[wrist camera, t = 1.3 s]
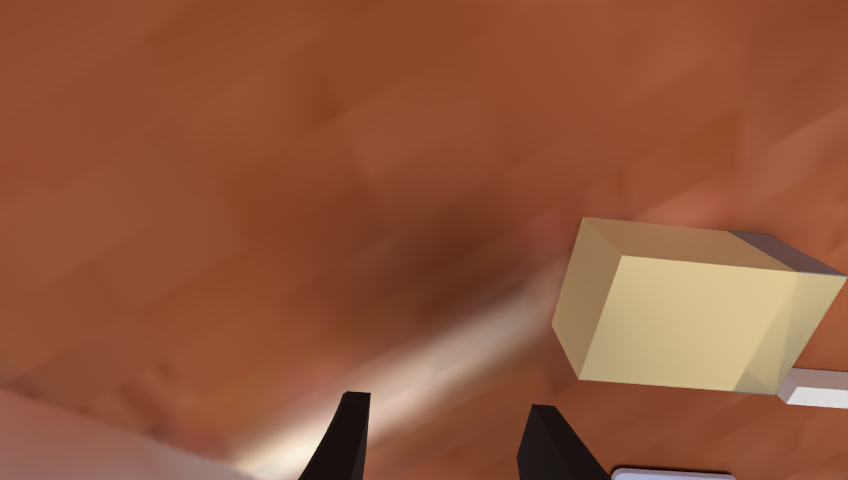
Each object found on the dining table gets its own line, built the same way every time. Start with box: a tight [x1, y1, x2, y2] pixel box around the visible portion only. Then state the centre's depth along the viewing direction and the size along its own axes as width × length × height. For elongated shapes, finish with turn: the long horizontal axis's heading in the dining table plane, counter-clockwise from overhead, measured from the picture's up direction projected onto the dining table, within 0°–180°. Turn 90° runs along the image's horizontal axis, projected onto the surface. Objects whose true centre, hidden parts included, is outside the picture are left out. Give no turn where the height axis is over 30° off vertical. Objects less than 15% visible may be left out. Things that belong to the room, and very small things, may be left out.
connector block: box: [551, 217, 848, 395], centre depth 19 cm, size 6×9×4 cm
